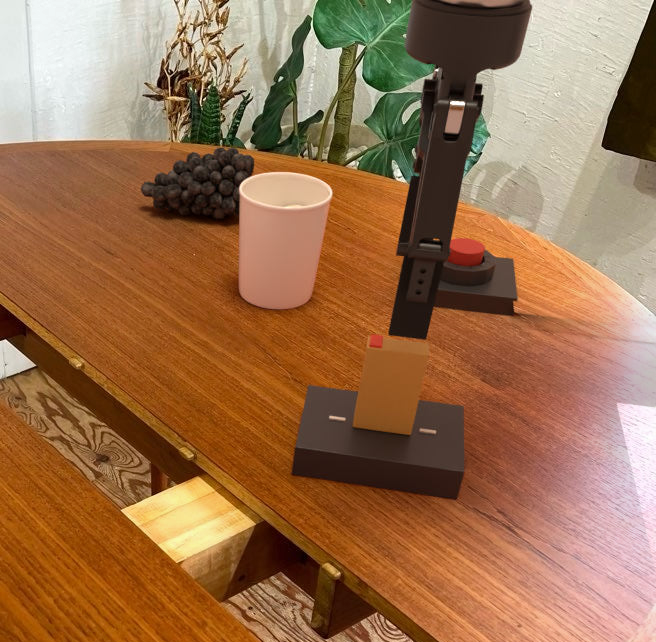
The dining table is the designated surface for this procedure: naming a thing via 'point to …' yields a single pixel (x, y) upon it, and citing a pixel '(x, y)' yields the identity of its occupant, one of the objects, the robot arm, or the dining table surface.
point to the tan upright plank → (390, 384)
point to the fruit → (191, 192)
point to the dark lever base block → (380, 446)
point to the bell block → (479, 286)
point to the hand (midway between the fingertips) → (409, 293)
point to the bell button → (466, 252)
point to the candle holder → (281, 237)
